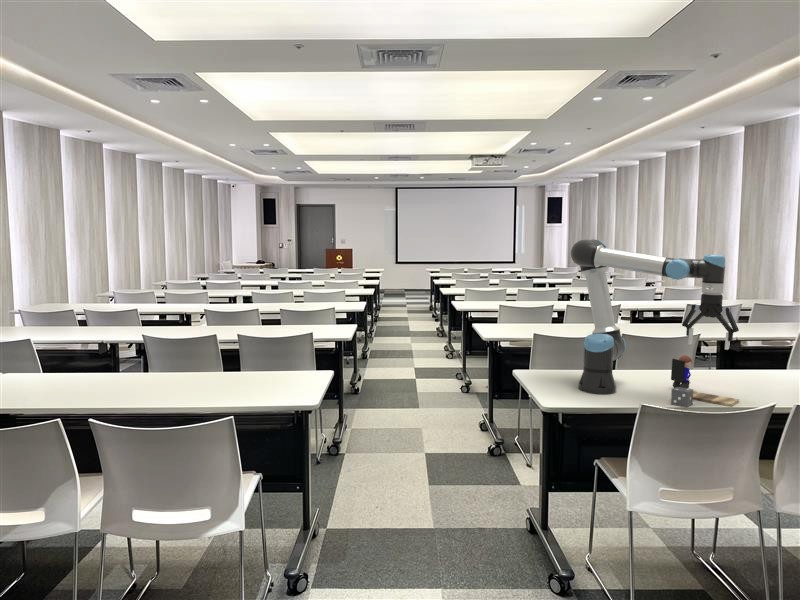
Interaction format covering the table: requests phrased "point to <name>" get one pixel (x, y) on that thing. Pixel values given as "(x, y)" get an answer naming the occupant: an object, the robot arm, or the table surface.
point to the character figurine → (681, 372)
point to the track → (714, 399)
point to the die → (682, 397)
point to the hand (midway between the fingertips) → (708, 346)
